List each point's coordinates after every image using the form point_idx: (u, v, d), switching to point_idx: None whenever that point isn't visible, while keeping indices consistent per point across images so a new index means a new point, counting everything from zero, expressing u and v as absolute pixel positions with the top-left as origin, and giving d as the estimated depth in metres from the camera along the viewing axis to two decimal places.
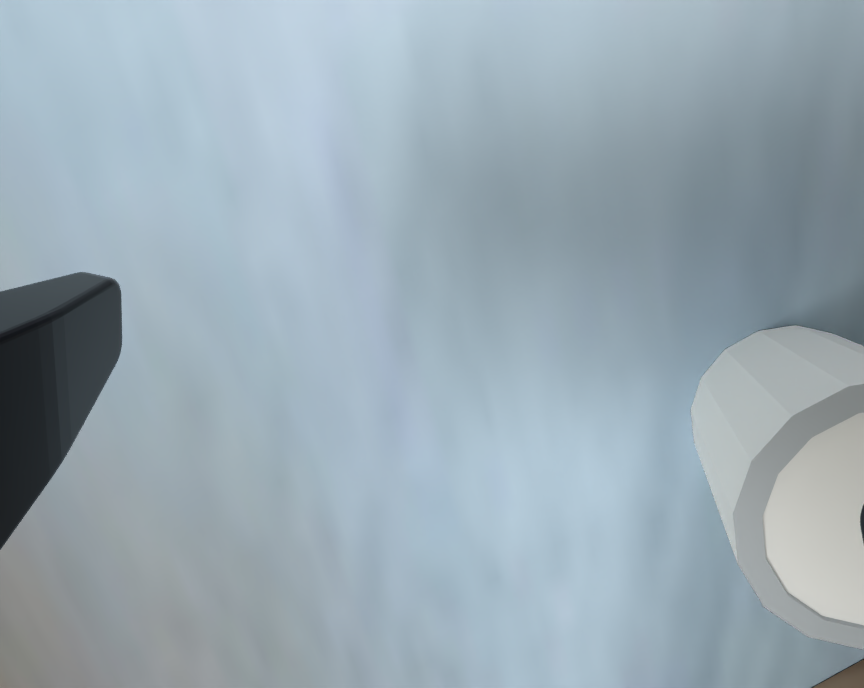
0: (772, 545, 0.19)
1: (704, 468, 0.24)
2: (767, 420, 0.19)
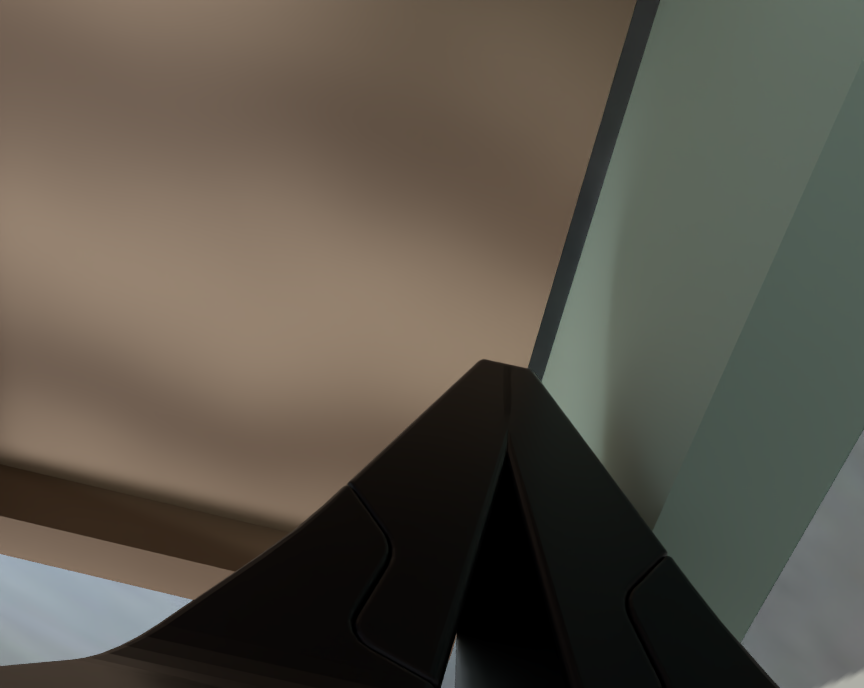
0: None
1: None
2: None
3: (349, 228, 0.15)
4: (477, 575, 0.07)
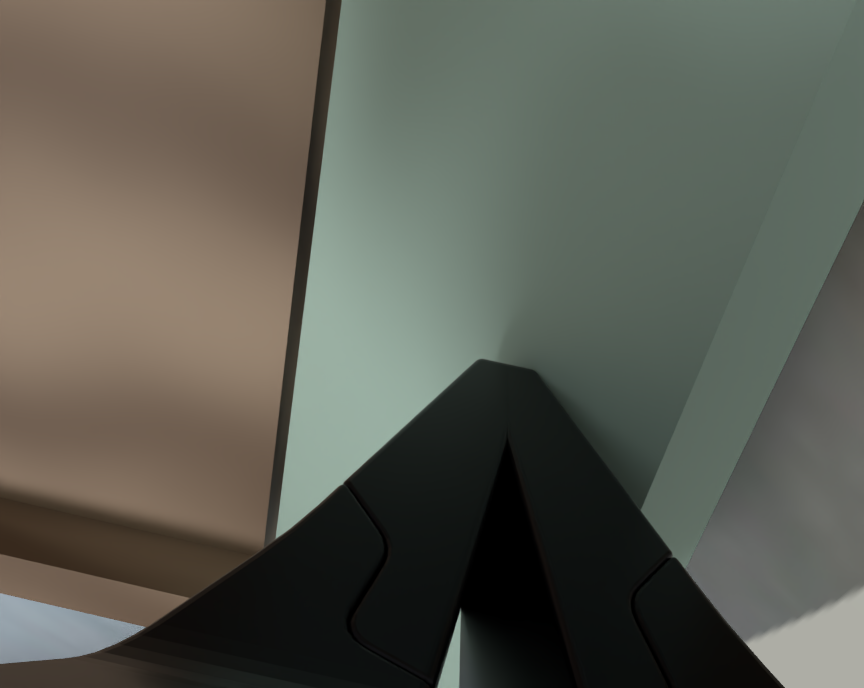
0: None
1: None
2: None
3: (82, 187, 0.14)
4: (481, 576, 0.07)
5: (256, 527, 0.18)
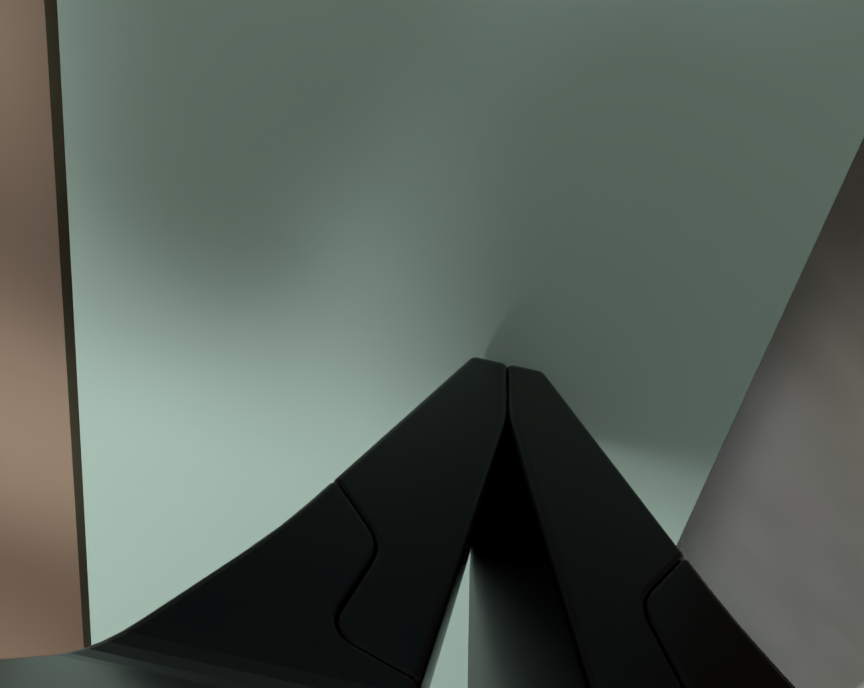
0: None
1: None
2: None
3: None
4: (490, 578, 0.07)
5: None
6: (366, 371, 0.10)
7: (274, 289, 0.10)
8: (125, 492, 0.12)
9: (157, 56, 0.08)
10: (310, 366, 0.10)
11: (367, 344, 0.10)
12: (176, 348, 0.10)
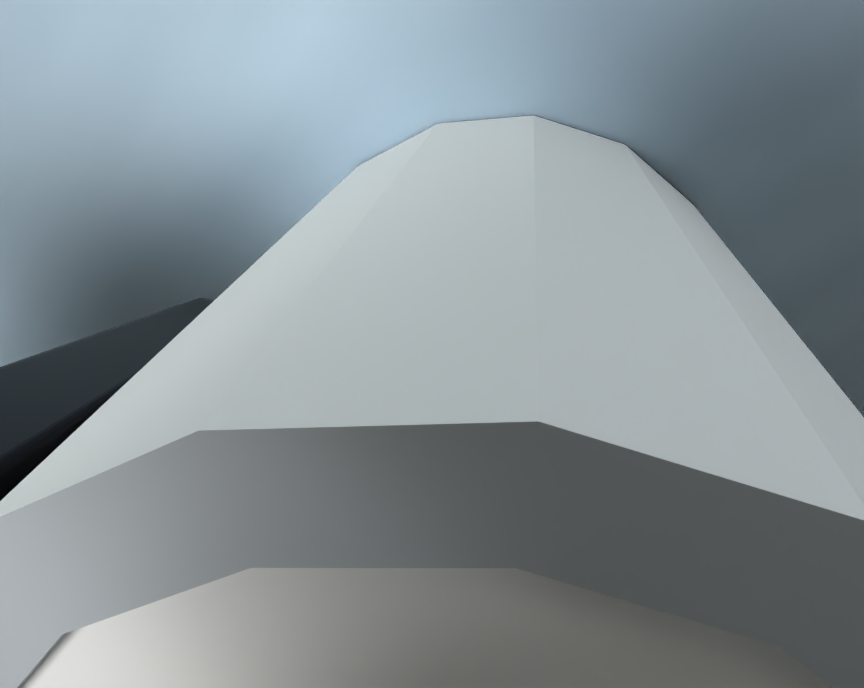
0: None
1: None
2: (438, 333, 0.04)
3: None
4: None
5: None
6: None
7: None
8: None
9: None
10: None
11: None
12: None
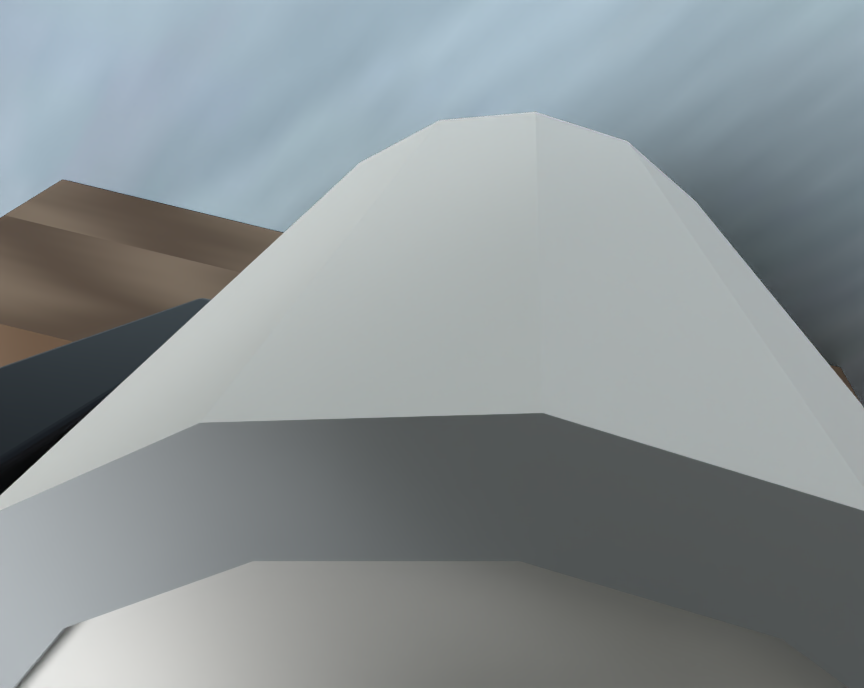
0: None
1: None
2: (440, 327, 0.04)
3: None
4: None
5: None
6: None
7: None
8: None
9: None
10: None
11: None
12: None
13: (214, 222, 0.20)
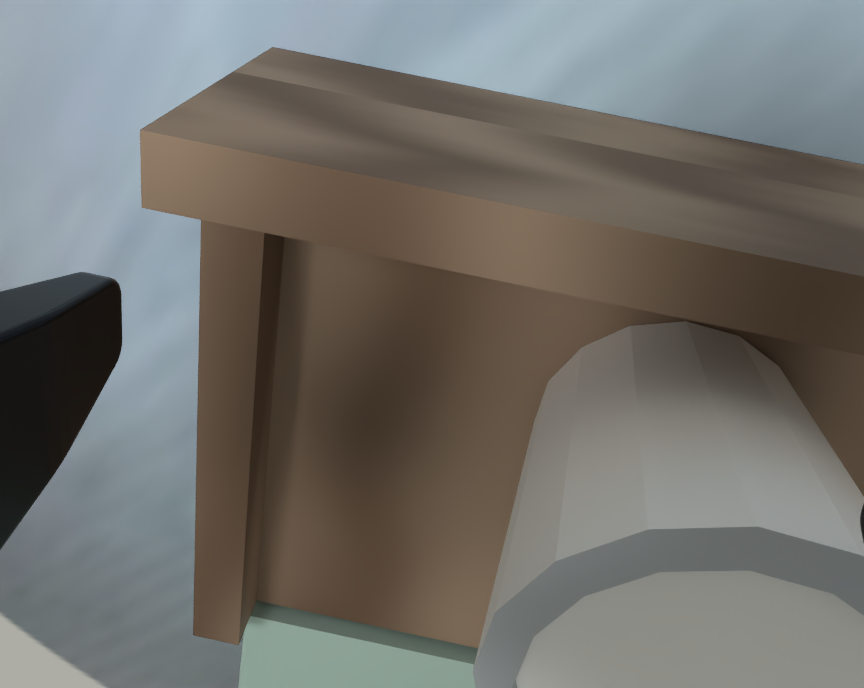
0: (557, 628, 0.12)
1: (540, 429, 0.16)
2: (707, 489, 0.11)
3: None
4: None
5: (288, 602, 0.22)
6: None
7: None
8: (446, 676, 0.22)
9: None
10: None
11: None
12: None
13: (459, 88, 0.17)
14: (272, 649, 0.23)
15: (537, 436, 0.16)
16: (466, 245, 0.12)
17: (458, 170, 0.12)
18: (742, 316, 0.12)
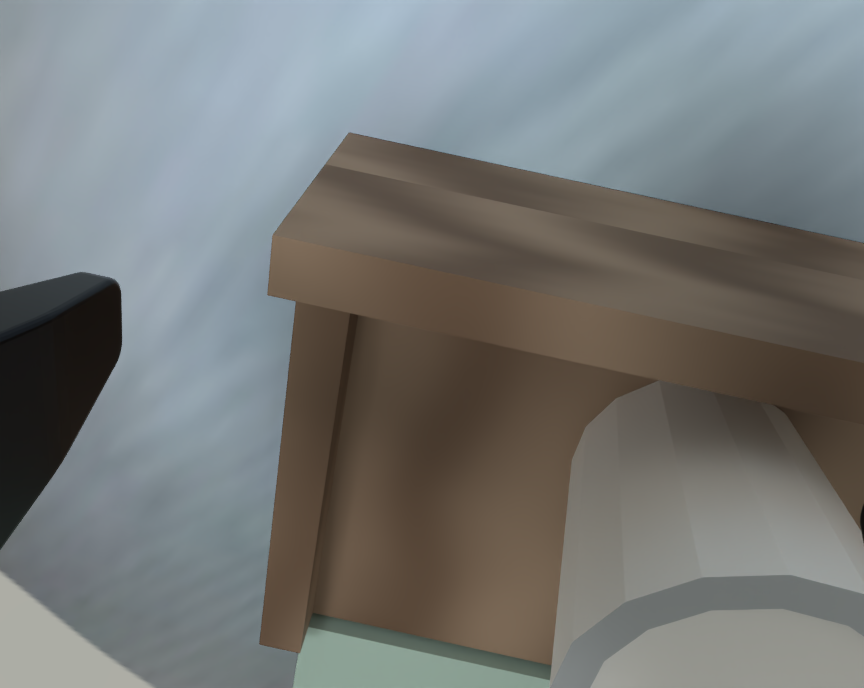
0: (623, 653, 0.14)
1: (586, 474, 0.18)
2: (746, 541, 0.14)
3: None
4: None
5: (341, 614, 0.25)
6: None
7: None
8: (482, 681, 0.25)
9: None
10: None
11: None
12: None
13: (513, 172, 0.19)
14: (325, 657, 0.25)
15: (584, 480, 0.18)
16: (538, 331, 0.15)
17: (529, 265, 0.15)
18: (765, 392, 0.15)
